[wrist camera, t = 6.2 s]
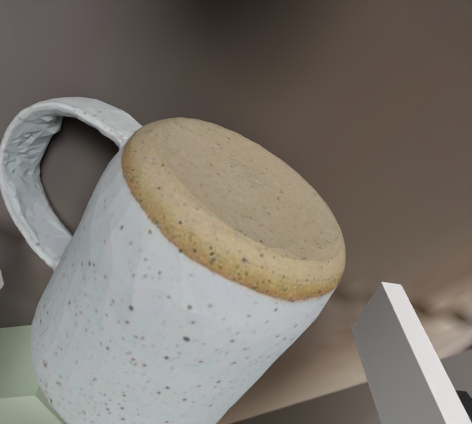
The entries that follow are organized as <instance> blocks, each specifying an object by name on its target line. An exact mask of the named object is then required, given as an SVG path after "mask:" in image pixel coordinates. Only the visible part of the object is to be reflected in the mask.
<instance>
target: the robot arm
mask: <svg viewBox="0 0 472 424" xmlns="http://www.w3.org/2000/svg"><path fill="white" fill-rule="evenodd" d="M3 285H4V283H3V279H2V274H1V270H0V289H1V288H2V286H3ZM351 330H352V333H353V336H354V339H355V342H356V346H357V349H358V352H359V355H360V358H361V361H362V364H363V368H364V371H365V374H366V377H367V380H368V383H369V386H370V389H371V393H372V396H373V399H374V402H375V405H376V408H377V411H378V414H379V418H380V421H381V424H472V398H471V397H470V396H469V395H468V393H467V392H465V391H456V390H455V389H454V388H453V385H452V383H451V381H450V379H449V378H448V376H447V374H446V372H445V370H444V368H443V366H442V364H441V362H440V360H439V358H438V356H437V354H436V352H435V350H434V348H433V346H432V344H431V342H430V340H429V338H428V337H427V335H426V333H425V331H424V329H423V327H422V325H421V323H420V321H419V319H418V317H417V315H416V313H415V311H414V309H413V307H412V305H411V303H410V301H409V299H408V297H407V296H406V294H405V292H404V290H403V288H402V286H401V285H399V284H392V283H386V282H381V283H380V285H379V286H378V288H377V289H376V291H375V292H374V294H373V295H372V297H371V299H370V300H369V302H368V303H367V305H366V306H365V308H364V309H363V311H362V312H361V314H360V315H359V317H358V319H357V320H356V322H355V323H354V325H353V326H352V328H351Z"/></svg>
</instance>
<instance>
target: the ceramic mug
mask: <svg viewBox="0 0 472 424" xmlns="http://www.w3.org/2000/svg"><path fill="white" fill-rule="evenodd" d="M63 116H67V117H75V118H77V119H79V120H81V121H83V122H84V123H86V124H88V125H90V126H92V127H94V128H96V129H98V130H99V131H100V132H101V133H102V134H103V135H105V136H106V137H108V138H110V139H111V140H113V141H114V142H115V144H116V145H117V146H118V147H119V152H118V153H117V154H116V155H115V156H114V157H113V159H112V160H111V161H110V162H109V164H108V166H107V167H106V169H105V171H104V173H103V174H102V176H101V178H100V179H99V181H98V183H97V185H96V187H95V189H94V192H93V194H92V196H91V198H90V200H89V202H88V205H87V207H86V209H85V212H84V214H83V217H82V219H81V222H80V224H79V226H78V228H77V229H76V231H75V233H74V235H72V234H71V233H70V231H69V230H68V229H66V228H65V226H64V225H63V224H62V222H61V221H60V220H59V218H58V217H57V215H56V214H55V212H54V211H53V209H52V207H51V206H50V204H49V201H48V199H47V198H46V195H45V192H44V189H43V186H42V184H41V181H40V176H39V174H40V167H39V165H40V162H41V158H42V156H43V154H44V152H45V150H46V148H47V146H48V143H49V141H50V139H51V137H52V136H53V134H55V133H56V132H58V131H60V128H61V124H62V119H63ZM0 189H1V193H2V196H3V199H4V202H5V205H6V207H7V209H8V211H9V213H10V215H11V217H12V219H13V221H14V223H15V224H16V226H17V228H18V229H19V231H20V232H21V233H22V235H23V236H24V238H25V239H26V241H27V242H28V244H29V245H30V247H31V248H32V249H33V250H34V251H35V253H36V254H38V255H39V256H40V257H41V259H43V260H44V261H45V263H46V264H47V265H48V266H49V267H51V268H52V269H53V271H54V273H53V275H52V277H51V279H50V281H49V283H48V285H47V287H46V289H45V291H44V293H43V295H42V297H41V299H40V301H39V303H38V305H37V309H36V312H35V315H34V318H33V322H32V326H31V334H30V337H31V361H32V367H33V370H34V373H35V376H36V378H37V381H38V383H39V385H40V387H41V389H42V391H43V393H44V395H45V397H46V399H47V401H48V403H49V404H50V405H51V406H52V408H53V409H54V410H55V411H56V412H57V413H58V414H59V415H60V416H61V418H62V419H63V420H64V421H65V422H66V423H67V424H216V423H217V422H218V421H219V420H220V419H221V417H222V416H223V415H224V414H225V413H226V412H227V411H228V409H229V408H230V407H231V406H232V405H234V404H235V403H236V402H237V401H238V399H239V398H240V397H241V396H242V395H243V394H244V393H245V392H246V391H247V390H248V389H249V388H250V387H251V386H252V385H253V384H254V383H255V382H256V381H257V380H258V379H259V378H260V377H261V376H262V375H263V374H264V372H265V371H266V370H267V369H268V368H269V367H270V366H271V365H272V364H273V363H274V361H275V360H276V359H277V358H278V357H279V356H280V355H281V354H282V353H283V352H284V351H285V350H286V349H287V348H288V347H289V346H290V345H291V344H292V343H293V342H294V341H295V340H296V339H297V338H298V337H299V336H300V335H301V334H302V333H303V332H304V331H305V330H306V329H307V328H308V327H309V326H310V325H311V323H312V322H313V321H314V320H315V319H316V318H317V317H318V315H319V314H320V312H321V310H322V309H323V307H324V306H325V304H326V303H327V301H328V299H329V298H330V296H331V295H332V293H333V292H334V290H335V288H336V287H337V285H338V283H339V282H340V280H341V277H342V275H343V272H344V268H345V260H346V257H345V244H344V240H343V236H342V232H341V229H340V227H339V225H338V223H337V221H336V218H335V217H334V215H333V214H332V212H331V210H330V209H329V207H328V206H327V204H326V203H325V201H324V200H323V199H322V198H321V197H320V196H319V194H318V193H317V192H316V191H315V190H314V189H313V188H312V187H311V186H310V185H309V184H308V183H307V182H306V181H305V180H304V179H303V178H302V177H301V176H300V175H299V174H298V173H297V172H296V171H295V170H293V169H292V168H291V167H290V166H288V165H287V164H286V163H285V162H284V161H282V160H281V159H279V158H278V157H276V156H275V155H273V154H272V153H270V152H269V151H267V150H266V149H264V148H263V147H261V146H260V145H259V144H257V143H255V142H253V141H251V140H249V139H247V138H245V137H243V136H242V135H240V134H238V133H236V132H234V131H231V130H229V129H226V128H224V127H222V126H219V125H217V124H214V123H210V122H206V121H202V120H199V119H192V118H183V117H177V118H171V119H164V120H159V121H155V122H152V123H148V124H145V125H144V126H142V125H140V124H139V123H138V122H137V121H136V120H135V119H133V118H132V117H131V116H130V115H129V114H127V113H126V112H124V111H123V110H121V109H118V108H116V107H114V106H111V105H109V104H106V103H104V102H102V101H99V100H96V99H91V98H84V97H64V98H55V99H50V100H46V101H41V102H37V103H36V104H34V105H32V106H30V107H28V108H26V109H24V110H22V111H21V112H20V113H19V114H18V115H17V116H16V117H15V118H14V119H13V121H12V122H11V123H10V125H9V126H8V127H7V129H6V131H5V134H4V136H3V139H2V142H1V145H0Z"/></svg>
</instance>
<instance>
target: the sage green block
mask: <svg viewBox="0 0 472 424" xmlns="http://www.w3.org/2000/svg"><path fill="white" fill-rule="evenodd" d="M31 326H32V325H27V326H17V327H8V328H0V424H67V423H66V422H65V421H64V420H63V419H62V418H61V416H60V415H59V414H58V413H57V412H56V411H55V410H54V409H53V408H52V406H51V405H50V404H49V403H48V401H47V399H46V397H45V395H44V393H43V391H42V389H41V387H40V385H39V383H38V381H37V378H36V376H35V373H34V370H33V367H32V361H31V337H30V334H31Z"/></svg>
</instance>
